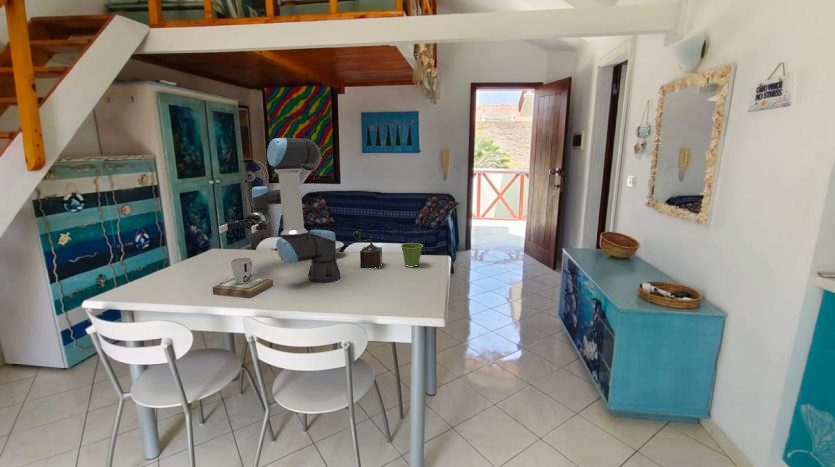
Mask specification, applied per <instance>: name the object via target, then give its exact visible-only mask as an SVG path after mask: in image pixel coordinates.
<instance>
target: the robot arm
mask: <svg viewBox="0 0 835 467" xmlns="http://www.w3.org/2000/svg"><path fill="white" fill-rule="evenodd" d="M266 156H267V158H266V159H267V161H268V164H269V166H271V167H273V169H274V172H275V173H277V176H278V184H279V189H269V188H268V186H253V187H252V189H251V201H252V213H250V214H249V215H246V216H245V217H244V218H243V220H238V219H237V220H232V221H228V222H221V223H220V224H219V226H218V232H219V234H222V233H224V232H227V231H228V230H232V229H247V230H248V231H251V234H255V233H257V232H258V231H261V230H265V231H267V225H268V224H269V223H270V222H271V221H272V219H273V215H272V212H271V211H270V206H274V205H275V206H276V205H281V214H282V225H283V226H282V227H283V230H282V231H281V232H280V237H279V238H278V239H277V240H276V244H275V246H276V252H277V254H278V256H279V258H280V260H281V261H282V262H283V263H285V264H297V263H301V262H306V261H310V266H309V270H308V273H307V280H308V281H309V282H312V283H316V284H318V283H319V284H321V283H324V284H325V283H331V282H332V283H333V282H336V281H338V280H340V279H341V271H340V268H339V265H338V263H337V253H336V241H337V240H336V233H335V232H334V231H331V230H326V229H311V230H307V229H306V228H305V226H304V225H305V223H304V212H303V201H302V191H301V190H302V189H301V186H303V183H305V181H306V180H307V179H308V176H309V175H310V174H311V173H312V171H315V170H317V168H318V167H319V165H320V163H321V159H322V153H321V149H320V148H319V146H318V144H316V143H315V141H313V140H311V139H309V138H293V137H291V138H290V137H278V138H277V137H276V138H273V139H272V140H271V141H270V143H269V144H268V147H267V153H266Z"/></svg>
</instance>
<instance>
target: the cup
mask: <svg viewBox="0 0 835 467" xmlns="http://www.w3.org/2000/svg"><path fill="white" fill-rule="evenodd" d="M252 262H253V261H252V258H250V257H236V258H233V259H231V260H230V265H231V270H232V274H233V278H235V280H236V282H237V284H246V283H249V282H250V278H251V277H252V269H253V268H252V267H253V266H252V264H253V263H252Z"/></svg>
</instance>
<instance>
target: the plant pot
mask: <svg viewBox="0 0 835 467" xmlns="http://www.w3.org/2000/svg"><path fill="white" fill-rule="evenodd" d="M400 247H401V251H402V255H403V259H404V265H408V266H415V265H419V266H420V261H421V253H422V251H423V247H424V244H422V243H419V242H418V243H417V242H406V243H402V244H401V245H400Z"/></svg>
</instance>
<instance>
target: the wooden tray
mask: <svg viewBox="0 0 835 467" xmlns="http://www.w3.org/2000/svg"><path fill="white" fill-rule="evenodd" d="M273 286H274V279H272V278H263V277H261V278H260V277H252V276H251V278H250V282H249V283H246V284H237V282H236V280H235V278H234V277H233V278H231V279H229V280H226V281H224V282H222V283H219V284H217V285H215V286H212V287H211V288H212V294H213V295H217V296H227V297H236V298H237V297H238V298H245V299H246V298H248V299H252V298H254V297H255V296H257V295H260V294H261V293H262V292H264V291H266V290H268V289H270V288H271V287H273Z"/></svg>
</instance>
